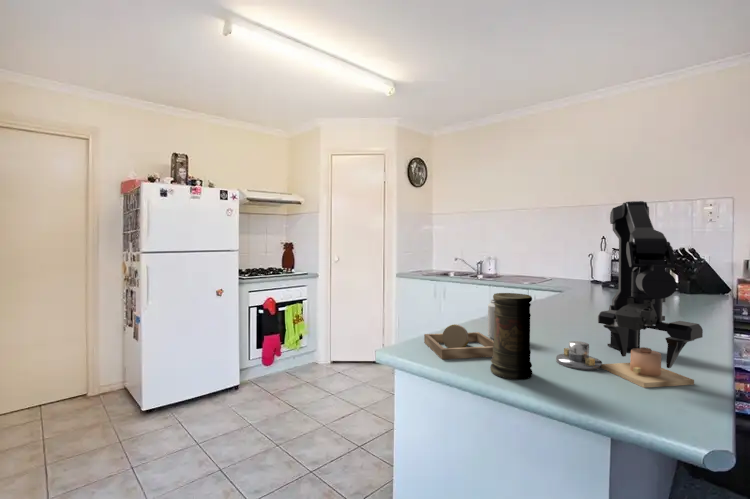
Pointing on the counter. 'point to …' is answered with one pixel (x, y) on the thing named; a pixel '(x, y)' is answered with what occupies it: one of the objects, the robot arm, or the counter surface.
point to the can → (491, 319)
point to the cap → (645, 362)
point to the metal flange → (578, 357)
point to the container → (512, 336)
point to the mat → (647, 381)
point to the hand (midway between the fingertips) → (645, 361)
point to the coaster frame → (464, 352)
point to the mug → (455, 336)
